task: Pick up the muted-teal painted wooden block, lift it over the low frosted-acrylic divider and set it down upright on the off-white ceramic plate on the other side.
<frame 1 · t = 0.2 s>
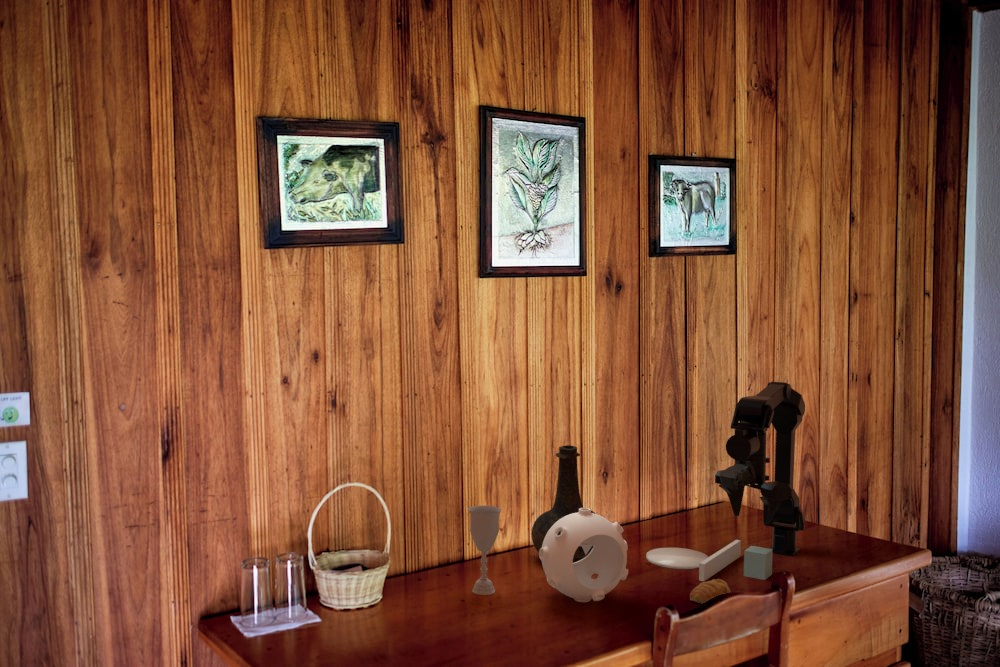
hand: (751, 520, 215), 13 cm above the table, fingers open, 9 cm apart
pastry: (710, 600, 202), on the table
plate: (677, 559, 229), on the table
block: (757, 575, 218), on the table
chalice: (483, 591, 204), on the table
decorative ball: (582, 600, 200), on the table
divider: (720, 567, 223), on the table
glass bottle: (568, 561, 227), on the table
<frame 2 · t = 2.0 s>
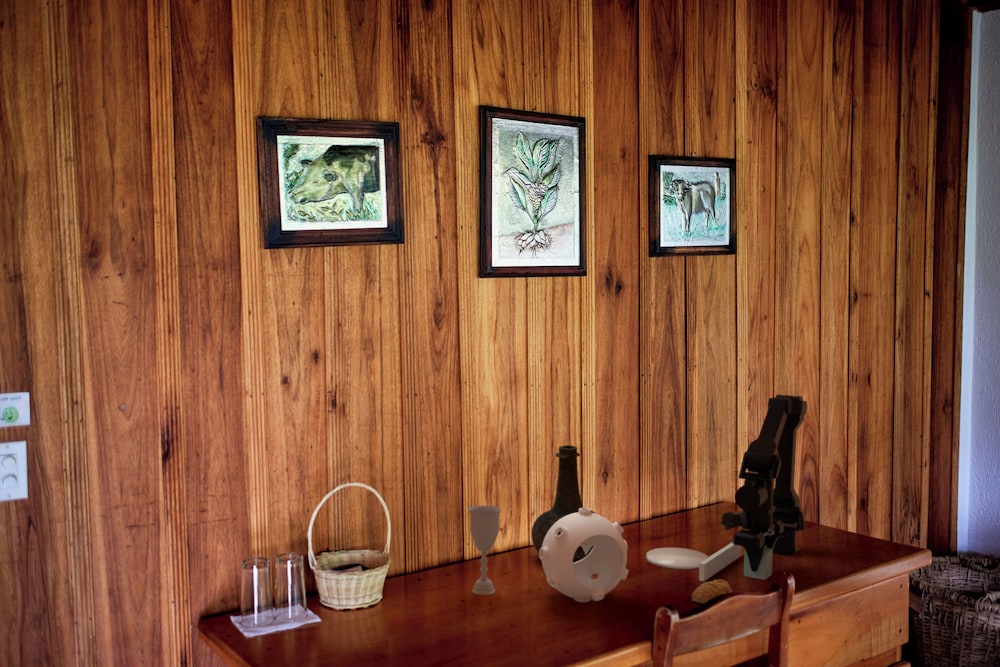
hand: (758, 568, 218), 2 cm above the table, fingers closed on block, 5 cm apart
block: (757, 575, 218), on the table, touching gripper
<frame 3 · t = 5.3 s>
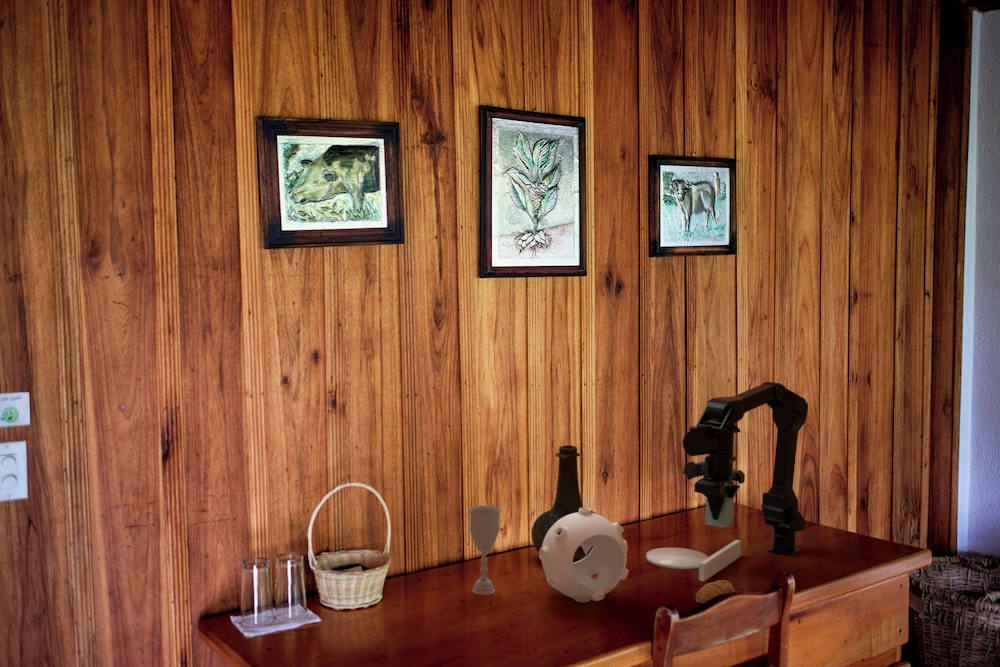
hand: (719, 517, 223), 12 cm above the table, fingers closed on block, 5 cm apart
block: (719, 523, 223), point 11 cm above the table, touching gripper
when the fingers open (3 cm above the table, at t = 8.5 s): block drops 1 cm, resting on plate.
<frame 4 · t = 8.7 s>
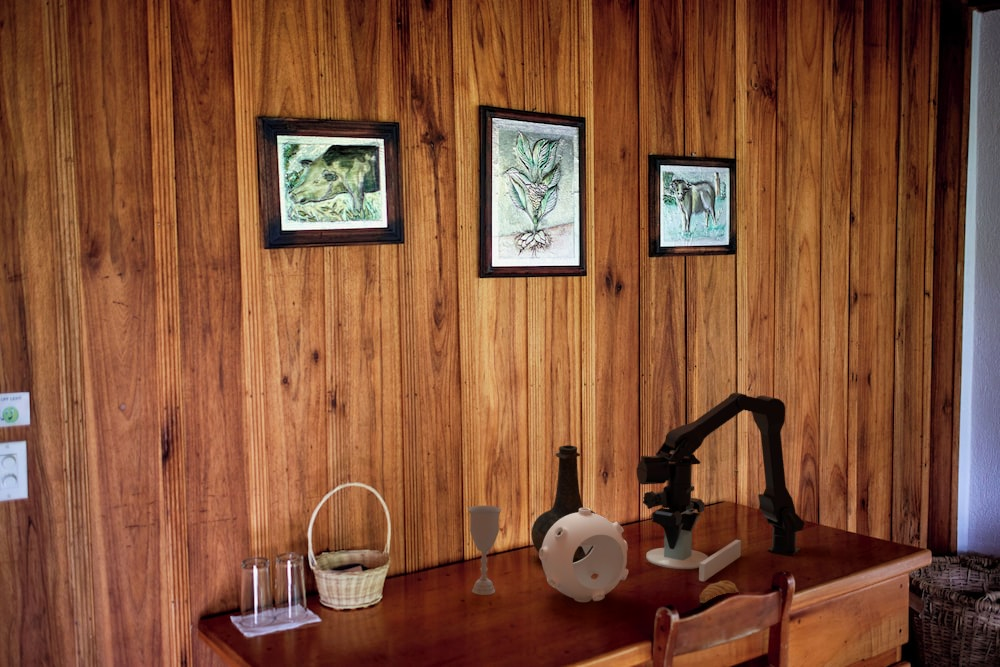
hand: (677, 545, 229), 3 cm above the table, fingers open, 7 cm apart
block: (677, 556, 229), point 1 cm above the table, touching plate
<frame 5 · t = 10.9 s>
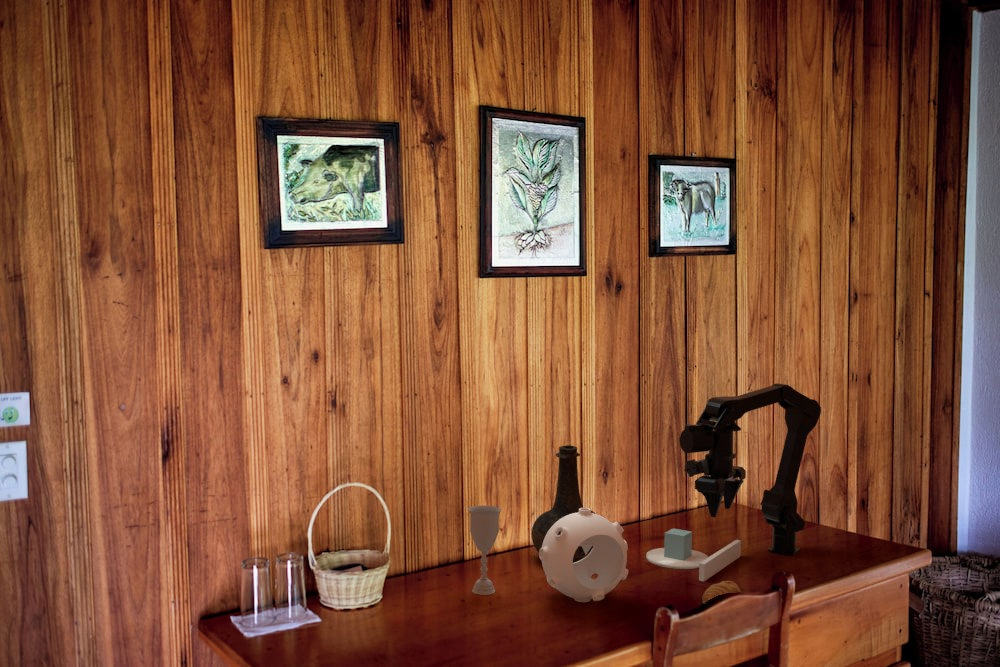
hand: (720, 512, 229), 12 cm above the table, fingers open, 9 cm apart
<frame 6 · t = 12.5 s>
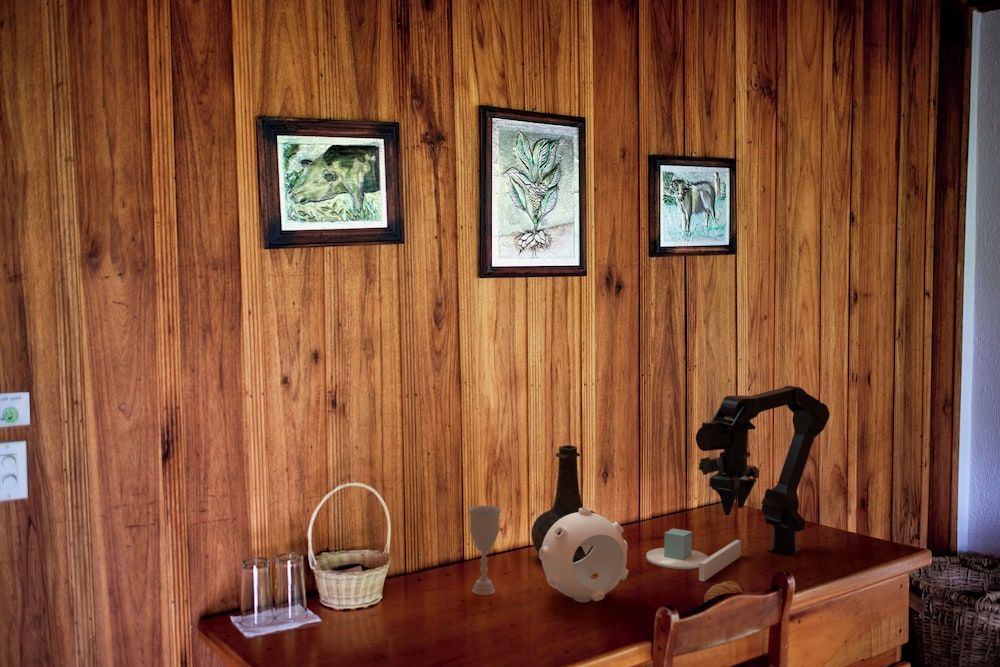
hand: (733, 511, 229), 12 cm above the table, fingers open, 9 cm apart
at the end: block inside the target area on the plate (0.1 cm from its centre), point 0.8 cm above the plate's base; block tilted 0°; the gripper is holding nothing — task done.
